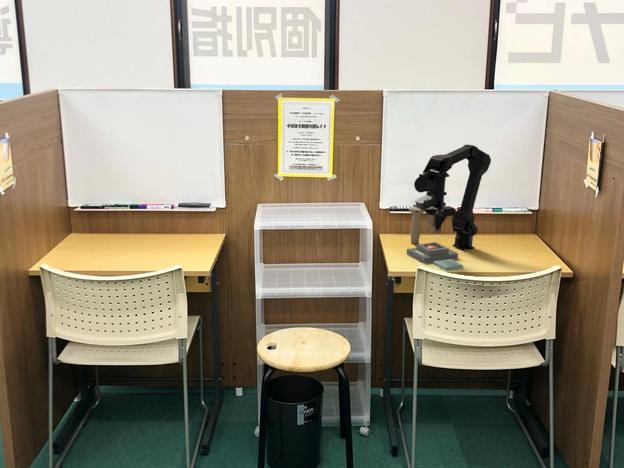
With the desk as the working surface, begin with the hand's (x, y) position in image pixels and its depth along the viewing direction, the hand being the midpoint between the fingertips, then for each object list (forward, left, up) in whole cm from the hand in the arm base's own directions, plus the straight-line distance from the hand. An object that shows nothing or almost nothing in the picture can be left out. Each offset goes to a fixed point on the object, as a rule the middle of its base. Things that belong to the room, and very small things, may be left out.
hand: (434, 228), depth 263 cm
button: (0, 0, -11) cm, 11 cm away
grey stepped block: (0, 0, -12) cm, 12 cm away
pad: (+1, +12, -11) cm, 17 cm away
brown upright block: (0, 0, -2) cm, 2 cm away
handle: (-3, -17, -12) cm, 21 cm away
